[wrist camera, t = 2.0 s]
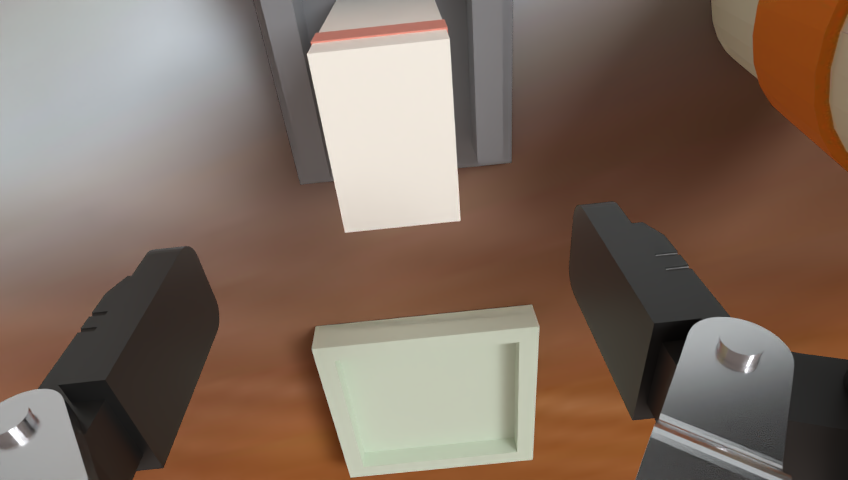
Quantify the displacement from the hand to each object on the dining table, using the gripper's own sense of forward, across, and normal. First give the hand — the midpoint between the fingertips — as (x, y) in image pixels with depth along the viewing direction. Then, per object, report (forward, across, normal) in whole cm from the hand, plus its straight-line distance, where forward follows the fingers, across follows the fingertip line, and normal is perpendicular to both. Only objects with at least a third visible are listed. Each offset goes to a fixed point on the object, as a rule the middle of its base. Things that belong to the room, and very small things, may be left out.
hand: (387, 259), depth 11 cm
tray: (+16, 0, +23) cm, 28 cm away
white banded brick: (+15, 0, 0) cm, 15 cm away
